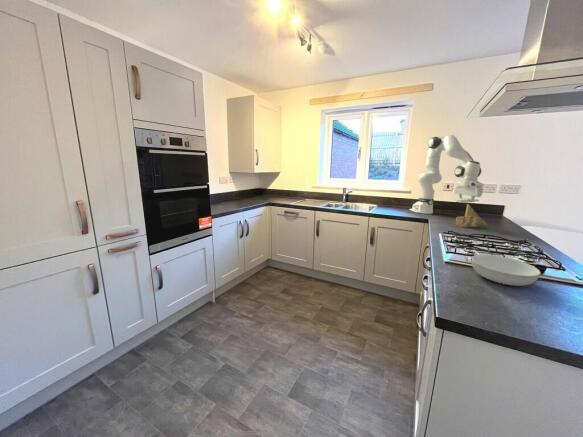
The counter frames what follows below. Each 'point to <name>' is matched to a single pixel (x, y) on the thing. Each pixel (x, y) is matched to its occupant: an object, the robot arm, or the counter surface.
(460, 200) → the lid
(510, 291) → the counter surface
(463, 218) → the crate
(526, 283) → the serving bowl
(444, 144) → the robot arm
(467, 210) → the sandwich container
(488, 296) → the counter surface
